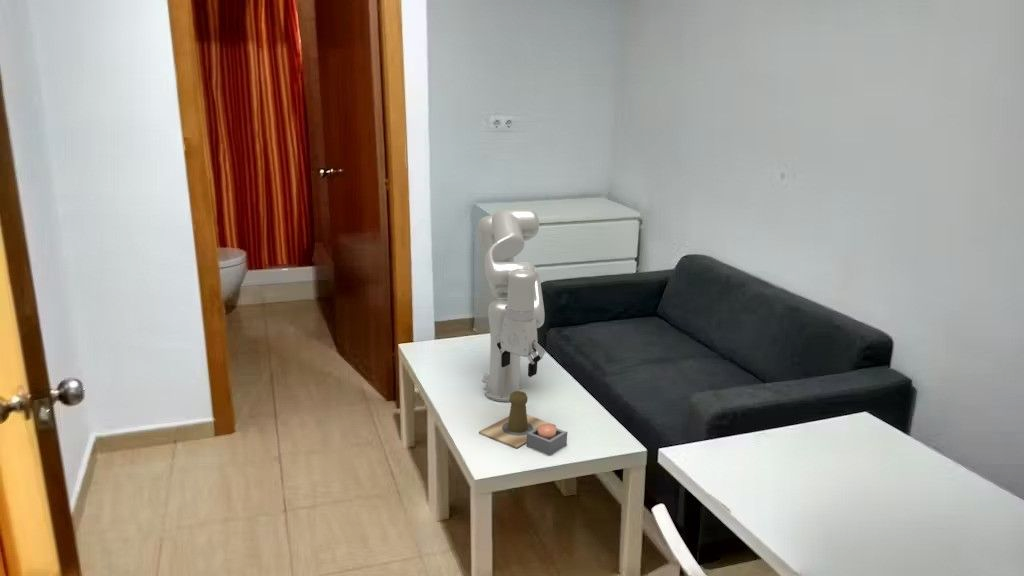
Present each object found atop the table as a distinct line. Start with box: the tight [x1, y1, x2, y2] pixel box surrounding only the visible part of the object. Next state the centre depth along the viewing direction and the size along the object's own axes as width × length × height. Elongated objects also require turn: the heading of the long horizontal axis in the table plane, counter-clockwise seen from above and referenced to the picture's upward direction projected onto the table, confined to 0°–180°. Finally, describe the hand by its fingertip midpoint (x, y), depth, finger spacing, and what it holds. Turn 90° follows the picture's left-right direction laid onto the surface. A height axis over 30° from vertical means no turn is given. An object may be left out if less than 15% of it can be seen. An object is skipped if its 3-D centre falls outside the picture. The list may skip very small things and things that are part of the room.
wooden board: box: [478, 414, 556, 450], centre depth 226 cm, size 14×18×1 cm
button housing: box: [525, 427, 568, 456], centre depth 217 cm, size 8×8×4 cm
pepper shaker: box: [507, 391, 529, 433], centre depth 225 cm, size 6×6×11 cm
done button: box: [538, 423, 557, 440], centre depth 217 cm, size 5×5×3 cm
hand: (518, 370), depth 222 cm, fingers open, 9 cm apart
